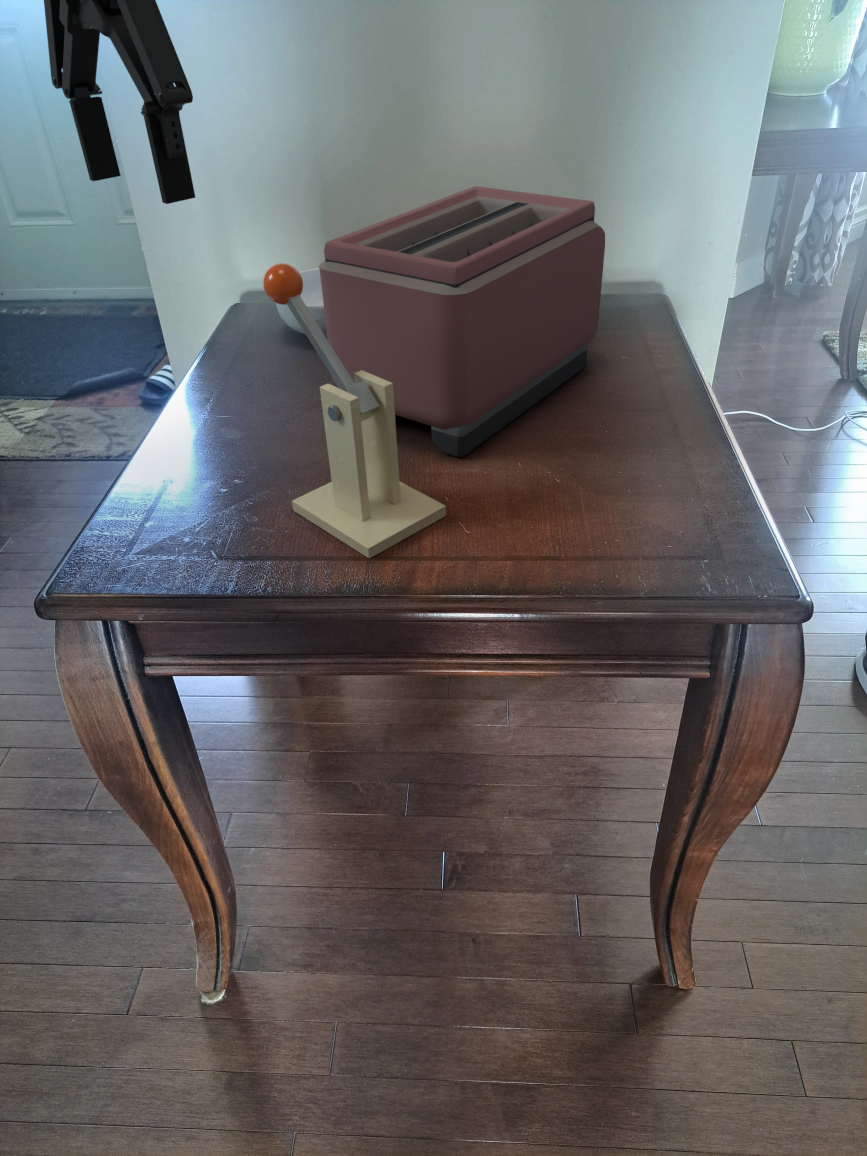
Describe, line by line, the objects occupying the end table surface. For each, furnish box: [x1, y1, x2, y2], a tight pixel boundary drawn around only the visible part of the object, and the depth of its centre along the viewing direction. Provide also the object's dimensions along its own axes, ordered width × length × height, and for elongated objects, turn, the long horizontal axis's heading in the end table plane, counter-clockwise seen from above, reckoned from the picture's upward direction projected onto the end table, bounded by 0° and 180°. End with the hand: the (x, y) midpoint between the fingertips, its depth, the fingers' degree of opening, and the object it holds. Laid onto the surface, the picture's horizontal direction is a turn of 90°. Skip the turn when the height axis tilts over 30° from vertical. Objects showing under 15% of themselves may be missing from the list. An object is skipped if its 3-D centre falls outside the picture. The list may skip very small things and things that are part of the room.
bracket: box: [291, 370, 447, 559], centre depth 79 cm, size 12×10×14 cm
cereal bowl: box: [274, 267, 328, 340], centre depth 121 cm, size 17×17×7 cm
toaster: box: [318, 185, 606, 458], centre depth 99 cm, size 19×36×21 cm, turn 144°
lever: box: [262, 262, 380, 422], centre depth 76 cm, size 16×4×4 cm
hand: (140, 189), depth 74 cm, fingers open, 13 cm apart
